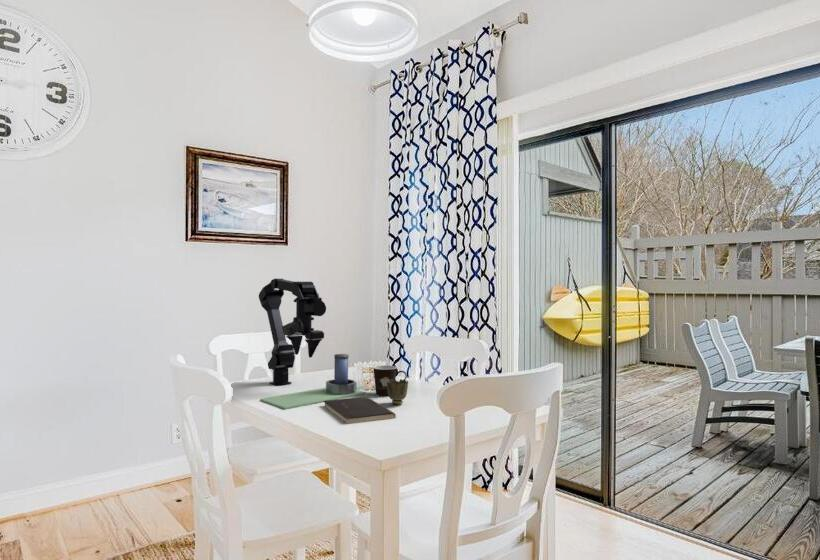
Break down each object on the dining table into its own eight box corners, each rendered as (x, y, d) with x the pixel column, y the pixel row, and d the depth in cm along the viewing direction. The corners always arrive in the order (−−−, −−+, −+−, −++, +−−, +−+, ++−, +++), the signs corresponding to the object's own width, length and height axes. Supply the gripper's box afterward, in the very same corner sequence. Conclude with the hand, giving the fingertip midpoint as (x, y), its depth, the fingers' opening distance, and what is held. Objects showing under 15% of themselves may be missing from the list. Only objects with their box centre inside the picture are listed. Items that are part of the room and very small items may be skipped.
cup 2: (409, 401, 182) (409, 378, 181) (406, 407, 174) (407, 383, 174) (387, 401, 182) (388, 378, 182) (384, 406, 175) (385, 382, 175)
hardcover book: (346, 425, 154) (346, 418, 154) (323, 407, 174) (323, 400, 174) (395, 419, 161) (395, 412, 161) (367, 403, 181) (368, 396, 181)
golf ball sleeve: (331, 391, 192) (332, 355, 192) (337, 388, 197) (337, 353, 197) (344, 391, 191) (345, 356, 190) (350, 389, 196) (350, 354, 196)
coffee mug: (369, 395, 190) (369, 368, 190) (379, 391, 198) (379, 364, 198) (398, 399, 185) (398, 371, 185) (407, 394, 193) (407, 367, 193)
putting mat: (260, 400, 180) (260, 398, 180) (339, 386, 204) (339, 385, 204) (285, 409, 169) (285, 407, 169) (365, 393, 193) (365, 392, 193)
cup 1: (320, 391, 194) (320, 381, 194) (343, 386, 202) (343, 377, 202) (338, 396, 186) (338, 386, 186) (362, 391, 194) (362, 382, 194)
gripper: (272, 314, 198) (271, 355, 198) (299, 317, 185) (298, 361, 185) (297, 312, 206) (296, 352, 206) (325, 315, 193) (324, 358, 193)
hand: (303, 355), depth 197 cm, fingers open, 9 cm apart
